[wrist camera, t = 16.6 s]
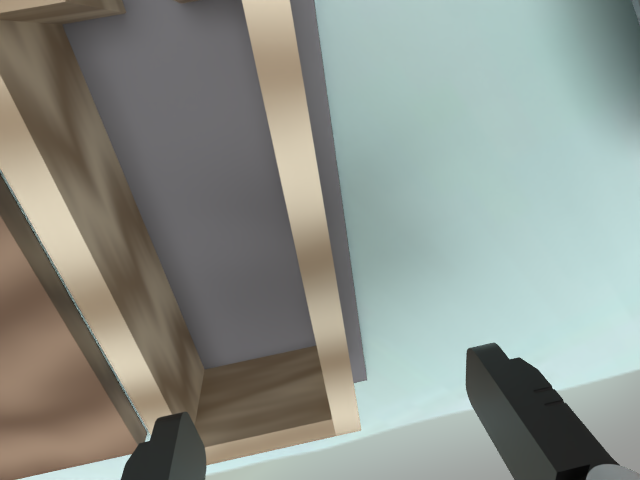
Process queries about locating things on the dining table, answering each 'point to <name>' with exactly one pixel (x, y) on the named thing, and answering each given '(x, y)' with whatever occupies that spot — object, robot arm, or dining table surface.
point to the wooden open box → (137, 248)
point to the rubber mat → (216, 169)
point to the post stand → (51, 367)
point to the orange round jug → (637, 8)
